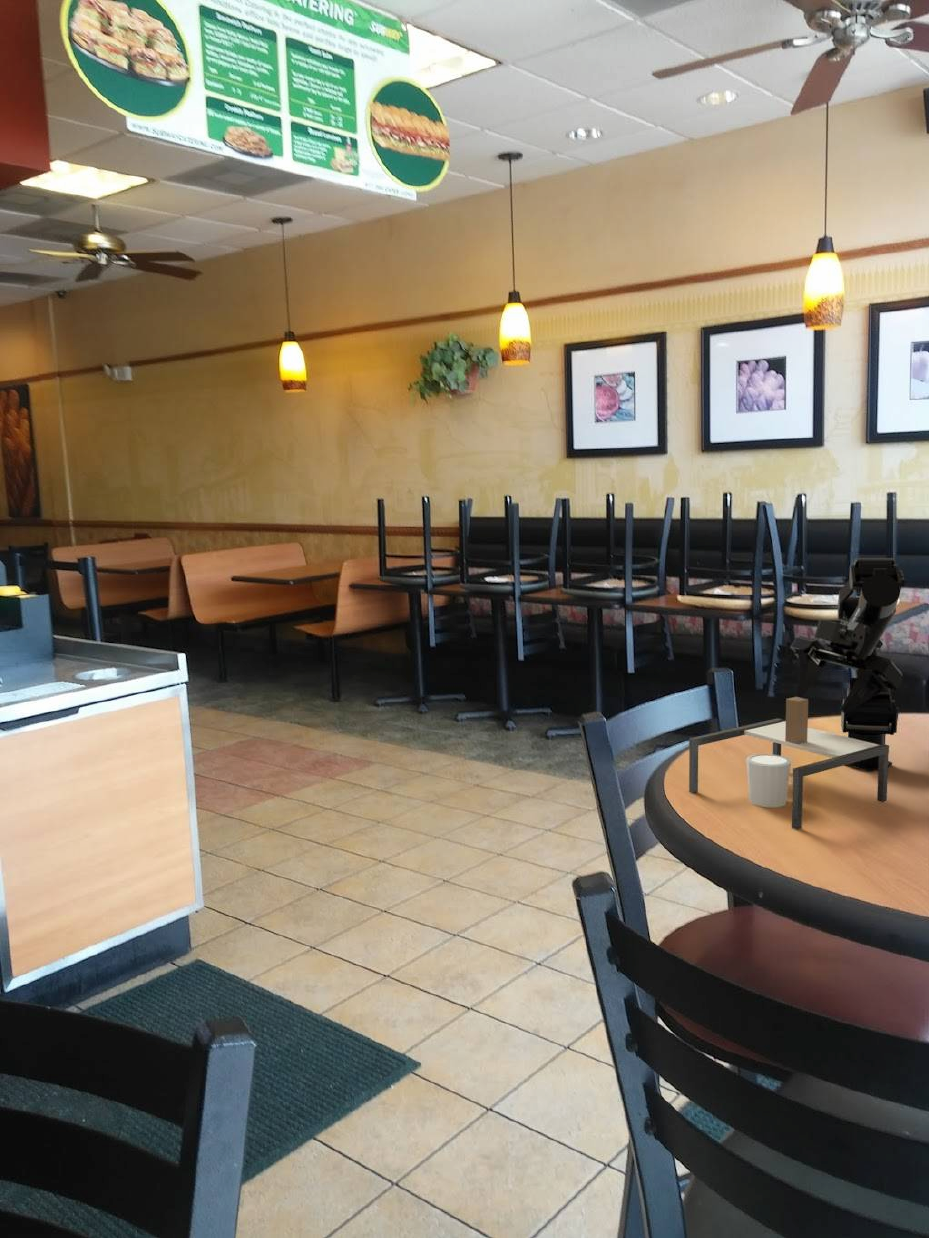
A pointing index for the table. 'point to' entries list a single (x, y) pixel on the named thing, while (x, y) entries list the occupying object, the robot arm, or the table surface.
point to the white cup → (768, 779)
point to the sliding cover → (806, 733)
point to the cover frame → (797, 772)
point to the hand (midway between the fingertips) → (819, 704)
